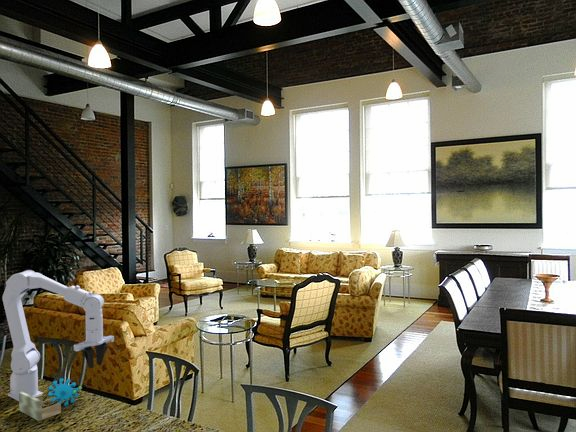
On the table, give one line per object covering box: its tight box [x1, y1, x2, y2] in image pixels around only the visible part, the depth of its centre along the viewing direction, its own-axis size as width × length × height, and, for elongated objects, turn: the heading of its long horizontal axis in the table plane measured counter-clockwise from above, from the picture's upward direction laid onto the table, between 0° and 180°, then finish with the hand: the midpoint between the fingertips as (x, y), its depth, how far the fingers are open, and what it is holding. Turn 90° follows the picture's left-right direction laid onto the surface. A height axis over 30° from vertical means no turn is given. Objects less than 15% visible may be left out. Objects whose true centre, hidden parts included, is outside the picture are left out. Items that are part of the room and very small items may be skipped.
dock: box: [18, 392, 62, 422], centre depth 149 cm, size 13×7×6 cm, turn 54°
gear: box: [47, 377, 83, 407], centre depth 157 cm, size 11×6×10 cm
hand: (94, 365), depth 165 cm, fingers open, 3 cm apart
